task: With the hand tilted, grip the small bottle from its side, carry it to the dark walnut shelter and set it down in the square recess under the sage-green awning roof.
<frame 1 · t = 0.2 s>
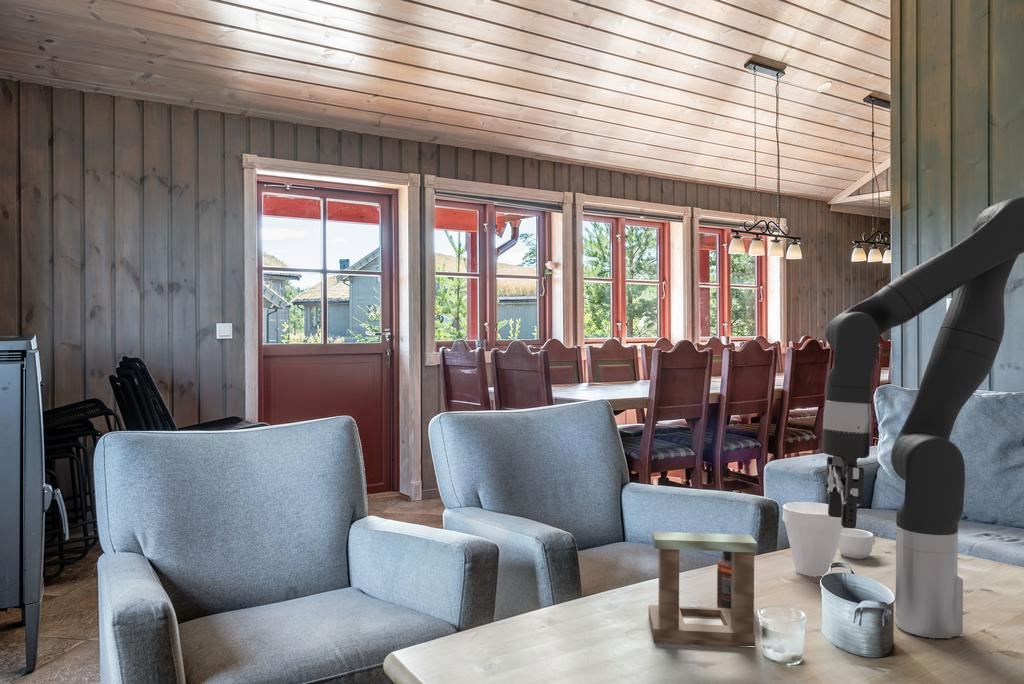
hand: (841, 521, 127), 18 cm above the table, tool pointing down, fingers open, 8 cm apart
teacup: (858, 556, 169), on the table
supplement bottle: (733, 611, 134), on the table
white flower pot: (812, 573, 157), on the table
socket stand: (702, 629, 125), on the table
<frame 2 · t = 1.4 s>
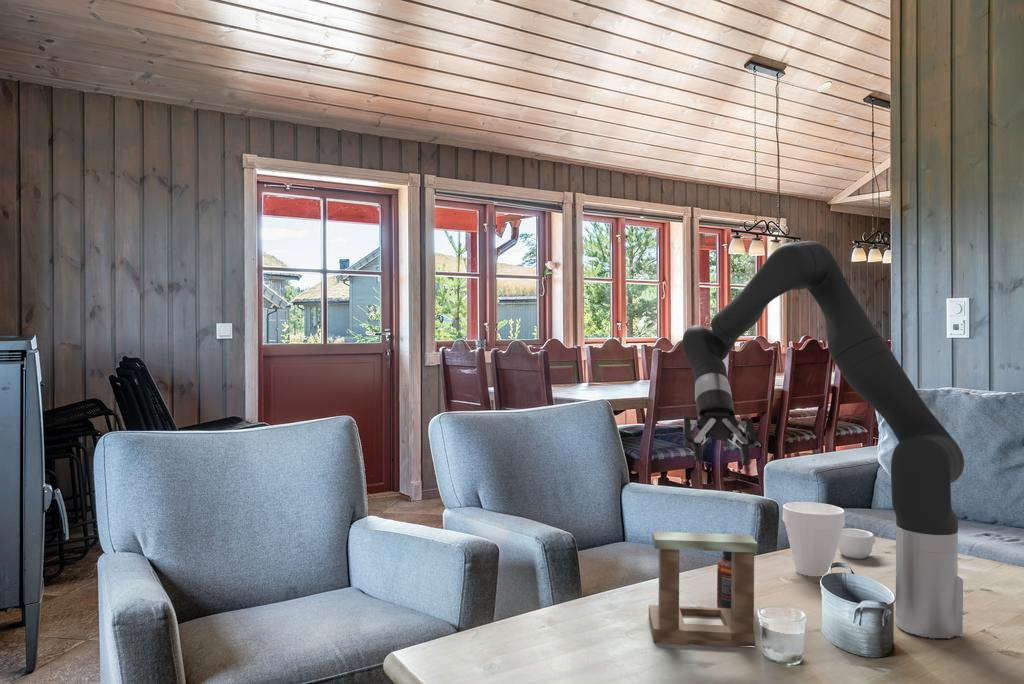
hand: (722, 462, 145), 25 cm above the table, tool tilted 45°, fingers open, 8 cm apart
nothing on the table moved.
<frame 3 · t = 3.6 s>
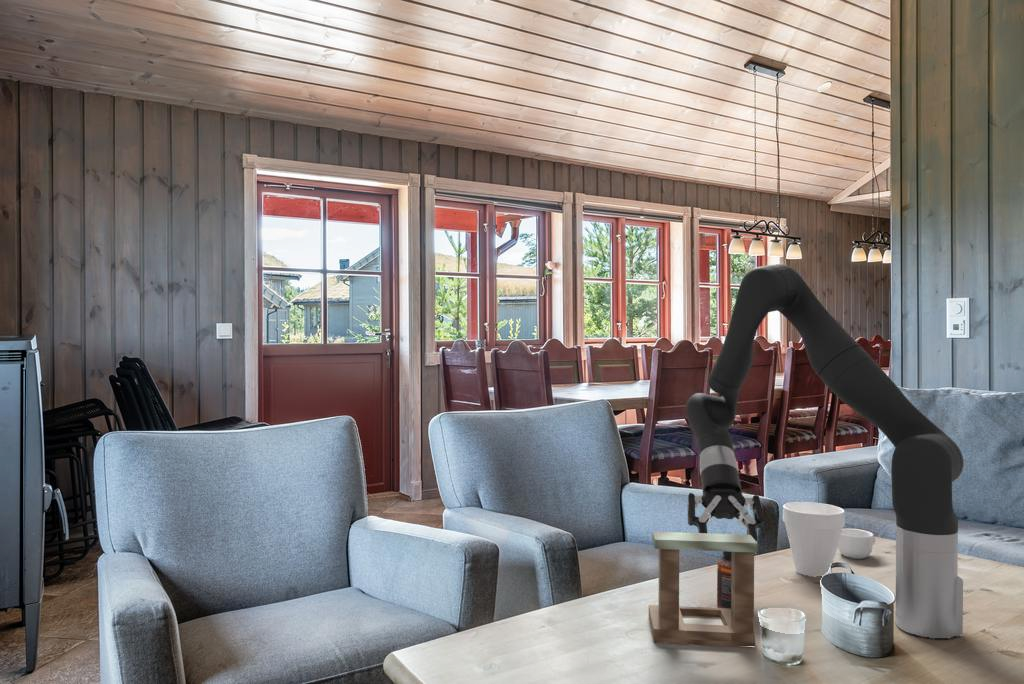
hand: (728, 544, 140), 10 cm above the table, tool tilted 45°, fingers open, 8 cm apart
nothing on the table moved.
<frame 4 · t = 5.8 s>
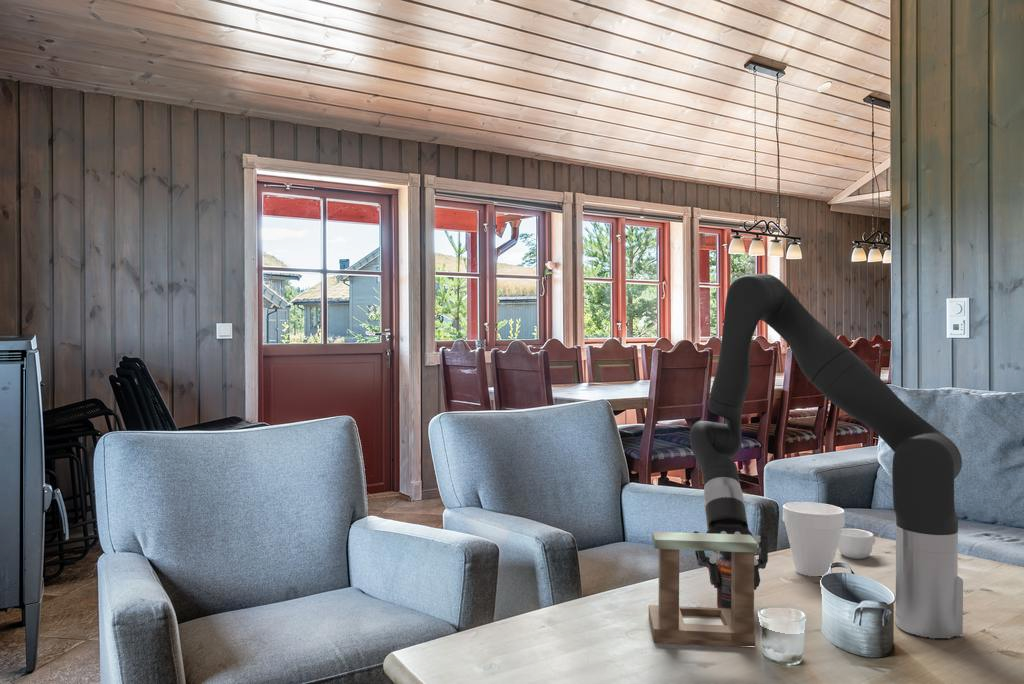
hand: (735, 586, 132), 5 cm above the table, tool tilted 45°, fingers closed on supplement bottle, 6 cm apart
supplement bottle: (733, 611, 134), on the table, touching gripper
everything else where it was.
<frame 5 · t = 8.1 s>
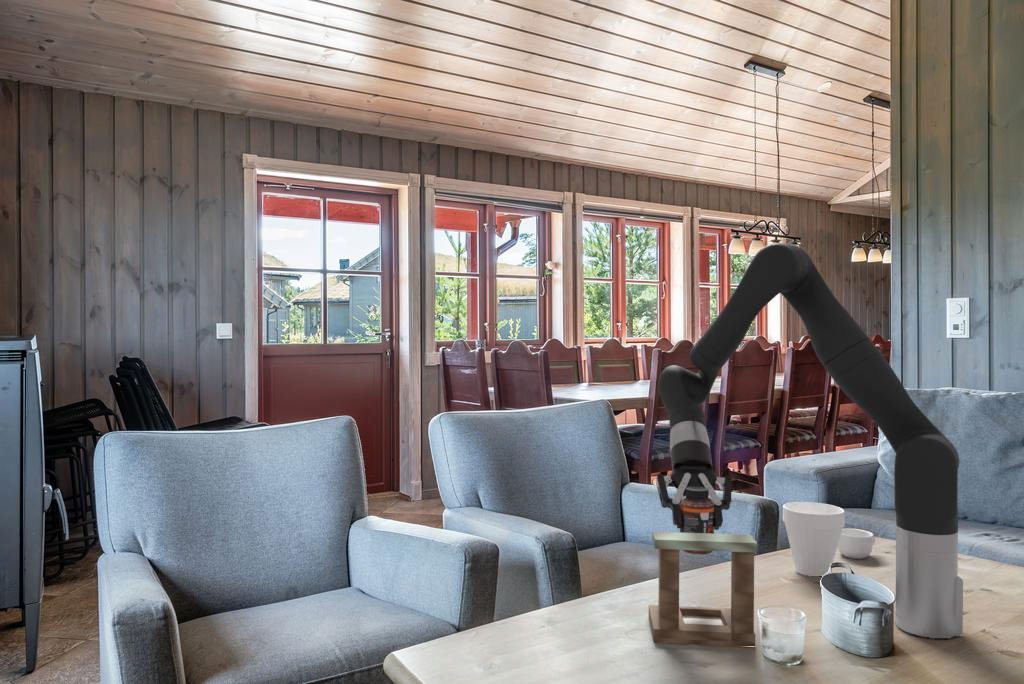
hand: (698, 526, 131), 16 cm above the table, tool tilted 45°, fingers closed on supplement bottle, 6 cm apart
supplement bottle: (696, 551, 133), point 11 cm above the table, touching gripper
everything else where it was.
when the fingers open (7 cm above the table, at t = 10.6 s): supplement bottle stays where it is, resting on socket stand.
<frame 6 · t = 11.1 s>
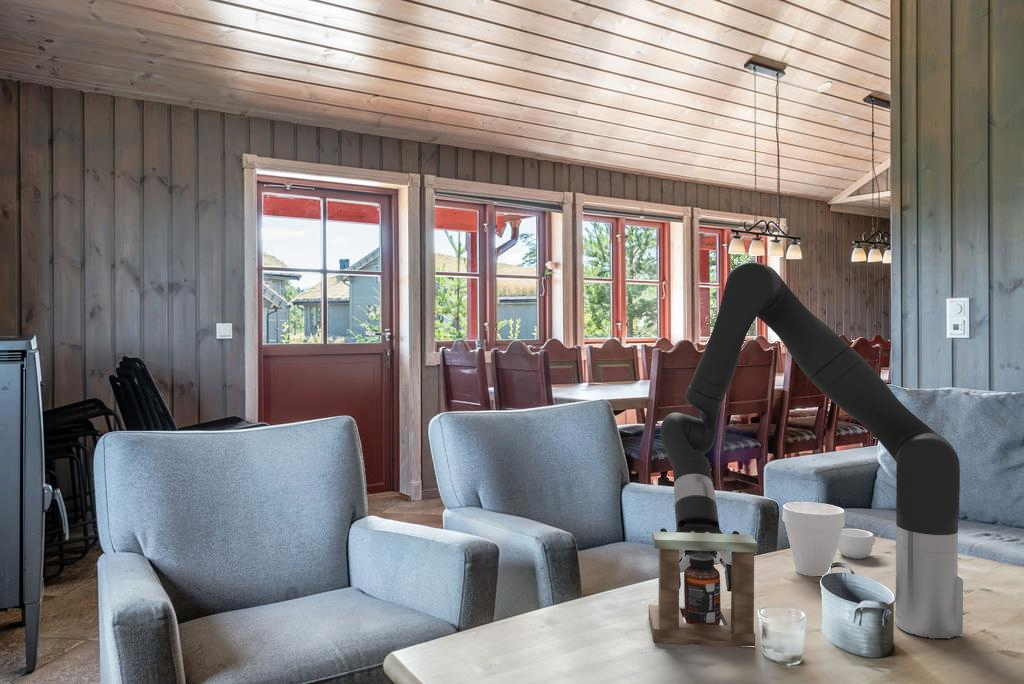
hand: (704, 588, 124), 7 cm above the table, tool tilted 45°, fingers open, 8 cm apart
supplement bottle: (702, 623, 125), point 1 cm above the table, touching socket stand
everything else where it was.
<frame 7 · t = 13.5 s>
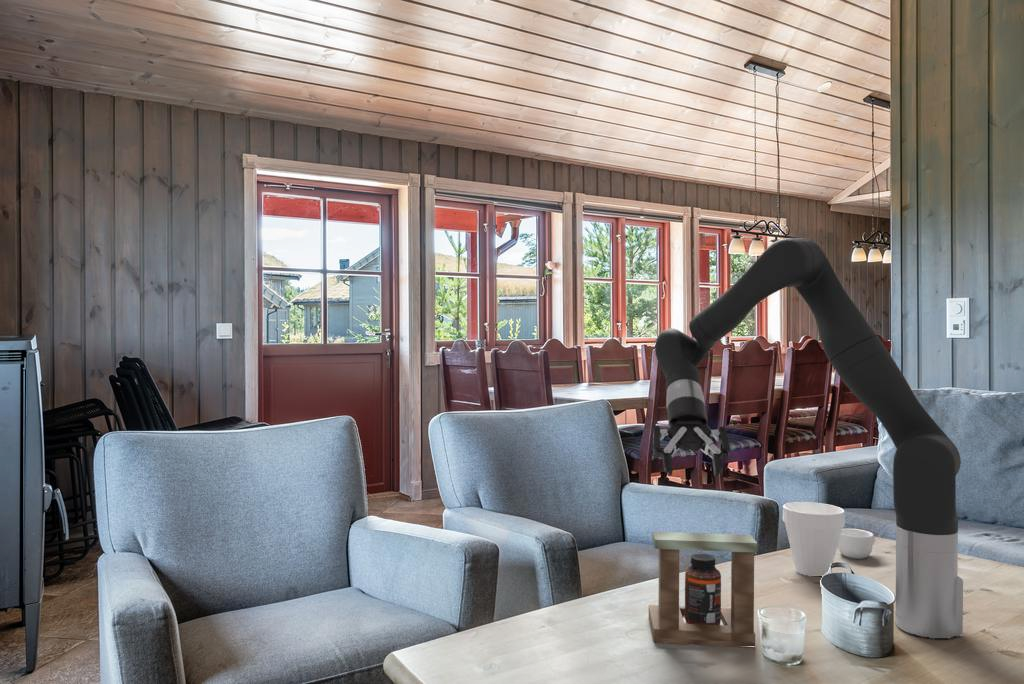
hand: (693, 473, 138), 24 cm above the table, tool tilted 45°, fingers open, 8 cm apart
nothing on the table moved.
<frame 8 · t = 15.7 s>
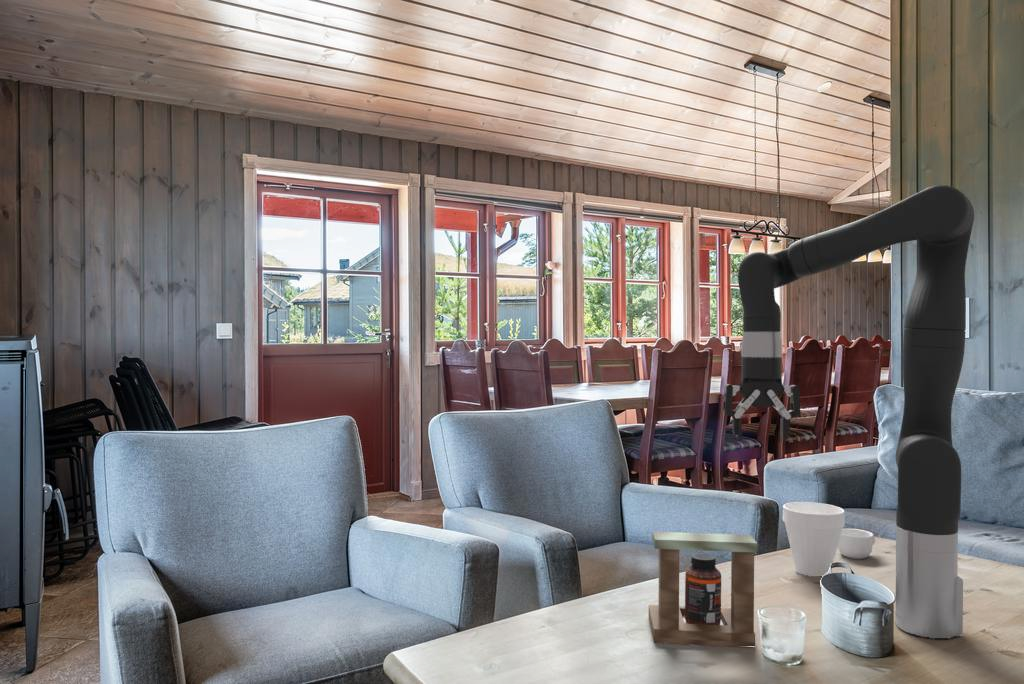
hand: (761, 437, 144), 30 cm above the table, tool pointing down, fingers open, 8 cm apart
nothing on the table moved.
at the end: supplement bottle 0.2 cm off-centre on the socket stand, point 0.8 cm above the socket stand's base; supplement bottle tilted 0°; the gripper is holding nothing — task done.
